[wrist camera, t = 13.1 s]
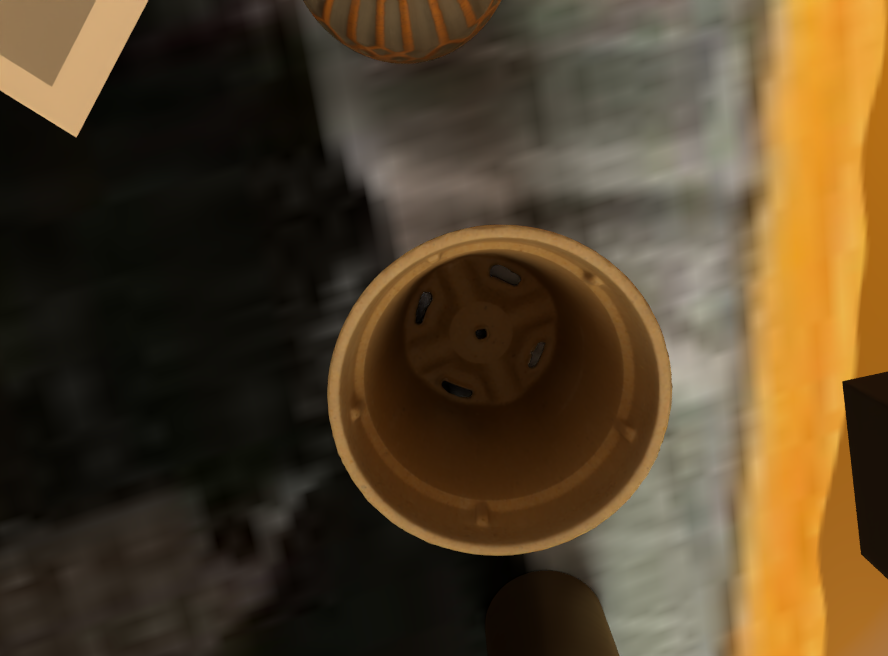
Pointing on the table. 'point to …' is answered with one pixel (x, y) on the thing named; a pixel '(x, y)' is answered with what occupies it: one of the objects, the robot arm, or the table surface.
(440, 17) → the vase
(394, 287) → the flower pot
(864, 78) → the table surface
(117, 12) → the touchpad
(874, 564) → the robot arm
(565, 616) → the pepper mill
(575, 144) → the table surface
